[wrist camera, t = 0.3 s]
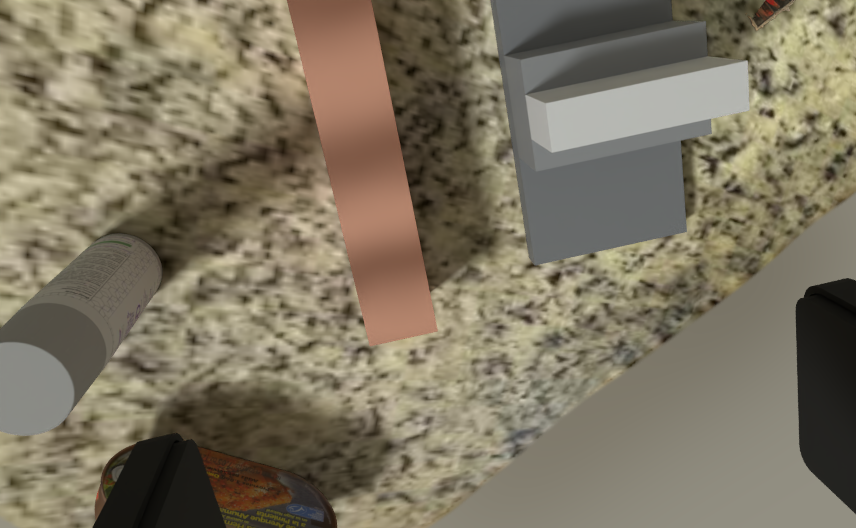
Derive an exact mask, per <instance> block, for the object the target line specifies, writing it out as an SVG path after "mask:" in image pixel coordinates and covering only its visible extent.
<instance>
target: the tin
mask: <svg viewBox="0 0 856 528" xmlns="http://www.w3.org/2000/svg"><path fill="white" fill-rule="evenodd" d="M134 446H135V444H134V445H131V446H129V447H127V448H125V449H123V450H121V451H120V452H118V453H117V454H116V455H114V456H113V457H112V458H111V459H110V460H109V461H108V463H107V464H106V466H105V468H104V470H103V473H102V476H101V484H100V487H99V490H98V493H97V497H96V502H95V518H96V520H97V518H98V516H99V514H100V512H101V510H102V508H103V506H104V504H105V502H106V500H107V498H108V496H109V494H110V492H111V490H112V488H113V487H114V485H115V483H116V481H117V479H118V477H119V475H120V473H121V471H122V469H123V467H124V465H125V463H126V461H127V459H128V457H129V455H130V453H131V451H132V449H133V447H134ZM197 447H198V446H197ZM198 449H199V452H200V455H201V457H202V460H203V463H204V466H205V469H206V471H207V474H208V477H209V480H210V483H211V486H212V488H213V491H214V494H215V497H216V500H217V502H218V505H219V508H220V511H221V514H222V516H223V519H224V522H225V525H226V528H337V520H336V516H335V513H334V511H333V508H332V506H331V505H330V503H329V502H328V500H327V499H326V497H325V496H324V495H323V494H322V493H321V492H320V491H319V490H318V489H317V488H316V487H315V486H314V485H312V484H311V483H309V482H308V481H306V480H305V479H303V478H301V477H299V476H298V475H295V474H293V473H291V472H288V471H284V470H281V469H277V468H274V467H270V466H266V465H263V464H259V463H255V462H252V461H248V460H244V459H241V458H237V457H233V456H230V455H226V454H222V453H219V452H216V451H212V450H208V449H205V448H201V447H198Z"/></svg>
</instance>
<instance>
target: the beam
mask: <svg viewBox="0 0 856 528" xmlns="http://www.w3.org/2000/svg"><path fill="white" fill-rule="evenodd" d="M287 2H288V6H289V11H290V15H291V19H292V23H293V27H294V31H295V36H296V40H297V44H298V48H299V52H300V57H301V61H302V65H303V69H304V73H305V77H306V82H307V86H308V90H309V94H310V98H311V102H312V107H313V111H314V115H315V119H316V123H317V127H318V132H319V136H320V140H321V144H322V148H323V152H324V157H325V161H326V165H327V169H328V173H329V177H330V182H331V186H332V190H333V194H334V198H335V202H336V207H337V211H338V215H339V219H340V223H341V227H342V232H343V236H344V240H345V244H346V248H347V253H348V257H349V261H350V265H351V269H352V273H353V278H354V282H355V286H356V290H357V294H358V298H359V303H360V307H361V311H362V315H363V319H364V323H365V328H366V332H367V336H368V340H369V344H370V346H373V345H378V344H382V343H387V342H391V341H396V340H401V339H405V338H410V337H414V336H419V335H423V334H428V333H432V332H437V331H438V330H437V325H436V320H435V315H434V310H433V305H432V300H431V295H430V290H429V285H428V280H427V275H426V270H425V265H424V260H423V255H422V251H421V246H420V241H419V236H418V231H417V226H416V221H415V216H414V211H413V206H412V201H411V196H410V191H409V186H408V181H407V176H406V171H405V166H404V161H403V156H402V151H401V146H400V141H399V136H398V131H397V126H396V121H395V116H394V111H393V106H392V101H391V96H390V91H389V86H388V81H387V76H386V72H385V67H384V62H383V57H382V52H381V47H380V42H379V37H378V32H377V27H376V22H375V17H374V12H373V7H372V2H371V0H287Z"/></svg>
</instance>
